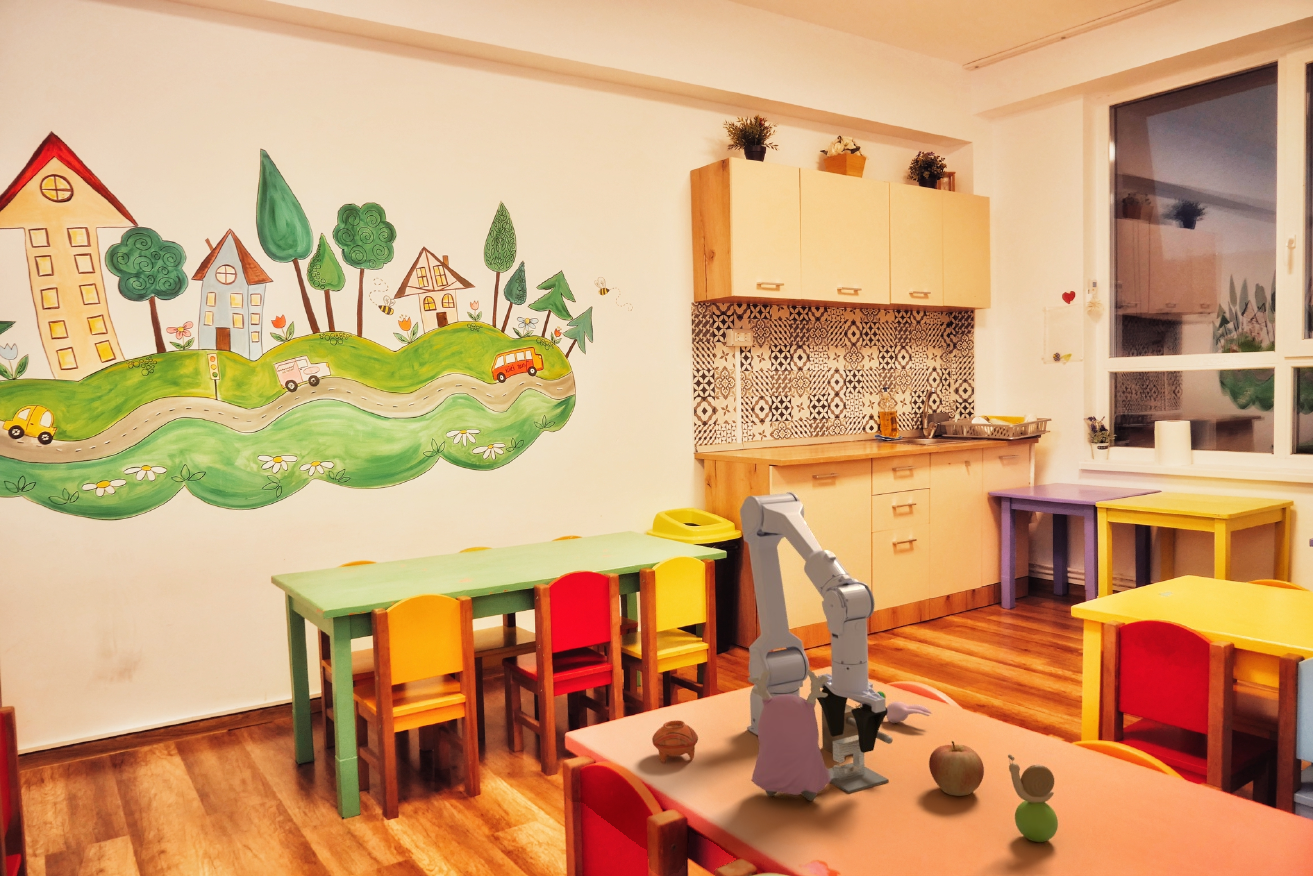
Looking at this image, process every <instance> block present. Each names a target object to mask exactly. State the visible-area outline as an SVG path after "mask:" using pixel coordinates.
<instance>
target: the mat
mask: <svg viewBox="0 0 1313 876" xmlns="http://www.w3.org/2000/svg"><path fill="white" fill-rule="evenodd" d="M841 766H842V767H844V768H845V769H846V768H850V767H853V762H850V763H846V764H843V765H841ZM827 770H828V771H829V774H830V778H831V781H830V782H829V784H830V783H831V784H832V785H833V786H835V787H837V788H839V789H840V790H842V791H844V792H845V793H847V794H851V793H854V792H858V791H859V792H860V791H861V790H866V789H868V788H873V787H875V786H876V787H877V786H879V785H883V784H886V783H889V778H886V777H885V776H883V775H881V774H879V773H878V772H875V770H872V769H870V768H868V767H867V766H865V775H862V776H859V777H855V778H852V779H848V780H844V781H841V782H839V781H838V780H836V779H834V775H833V767H831V768H827Z"/></svg>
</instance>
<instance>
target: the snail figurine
mask: <svg viewBox="0 0 1313 876" xmlns="http://www.w3.org/2000/svg"><path fill="white" fill-rule="evenodd" d="M1007 757H1008V759H1009V761H1011V762H1009V765H1008V769H1009V770H1008V771H1009V772H1010V776H1011V781H1012V785H1013V788H1014V790H1015V792H1016V794H1017V795H1018V797H1019V798H1020V799H1021V800H1023V801H1022V802H1021V803H1020V804H1019V805H1017V808H1016V810H1015V814H1014V822H1015V824H1016V825H1015V826H1016V827H1017V830H1018V831H1019V832H1020V834H1021V836H1024V837H1025V838H1026V839H1028V840H1029V841H1032V842H1036V843H1044V842H1047V841H1049V840H1051V839H1052V838H1053V837H1055V835H1056V833H1057V831H1058V827H1059V822H1058V816H1057V814H1056V811H1054V808H1052V806H1050V805H1049V804H1048V803H1046V802H1048V801H1050V800H1051V798H1052V797H1053V796H1054V791H1052V790H1053V789H1054V786H1055V777H1054V774H1053V772H1052V771H1051V770H1050V768H1048V766H1047V767H1046V766H1045V765H1042V764H1033V765H1030V766H1029V767H1027V768H1026V769H1024V771H1023V773H1022V775H1021V776H1020V771H1021V768H1020V765H1019V764H1018V763H1016V762H1013V761H1014V760H1015V757H1014V756H1013V755H1012V754H1010V753H1009V754H1008V755H1007Z"/></svg>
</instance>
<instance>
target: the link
mask: <svg viewBox="0 0 1313 876" xmlns="http://www.w3.org/2000/svg"><path fill="white" fill-rule="evenodd" d="M849 754H852V763H853V767H850V768H846V769H845V768H844V767H842V765H840V764H842V763H845V757H846V756H845V755H848V756H850V755H849ZM832 760H833V761H835V762H836V763H838V764H836V765H833V767H832V768H833V775H834V779H836V780H838V781H839V782H841V781H844V780H848V779H852V778H855V777H859V776H862V775H865V767H866V765H865V753H863V752H861V750H860V746H859V737H858V735H856V736H852V737H848V738H844V739H840V740H836V741H833V753H832Z"/></svg>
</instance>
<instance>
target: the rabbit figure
mask: <svg viewBox="0 0 1313 876" xmlns="http://www.w3.org/2000/svg"><path fill="white" fill-rule="evenodd" d="M876 693H877V694H879V695H880V696H881V697H883V698H885V700H886V698H887V696H886V694H885V693H884V691H882V690H881V691H877V692H876ZM860 707H862V704H860V703H859V704H858V705H857V703H855V708H860ZM886 708H887V709H888V713H887V714H886V716H885V717H886V718H887V721H888V722H890V723H892V724H895V723H896V724H897V723H898V722H904V721H905V720H907V719H908V716H909V715H912V714H919V715H920V714H921V715H924V716H926V717H929V716H930V714H933V713H932V711H931V710H930V709H929V708H927V707H926V706H925V705H922V704H907V703H905V702H903V701H892V702H890V703H889V704H888V705H887V707H886Z"/></svg>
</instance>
